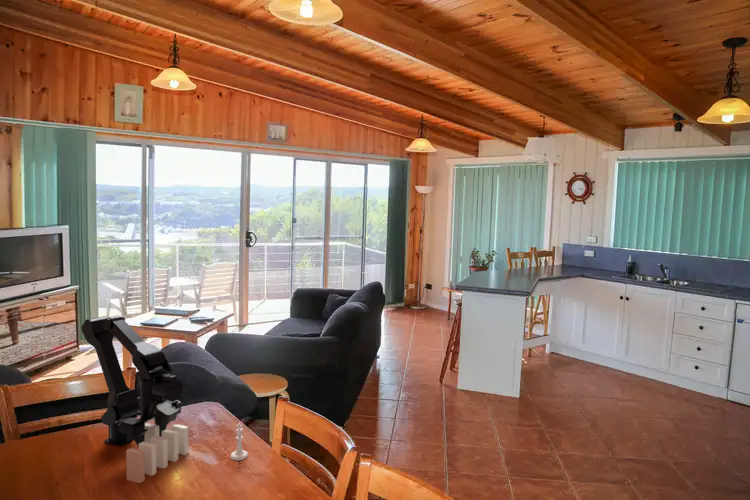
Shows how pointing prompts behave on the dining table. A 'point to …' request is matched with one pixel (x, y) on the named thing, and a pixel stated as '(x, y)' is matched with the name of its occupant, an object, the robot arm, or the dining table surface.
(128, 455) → the domino
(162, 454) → the domino
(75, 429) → the dining table surface
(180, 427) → the domino
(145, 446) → the domino
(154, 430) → the domino
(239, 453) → the chess piece
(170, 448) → the domino
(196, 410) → the dining table surface
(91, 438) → the dining table surface
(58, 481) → the dining table surface
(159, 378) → the robot arm
